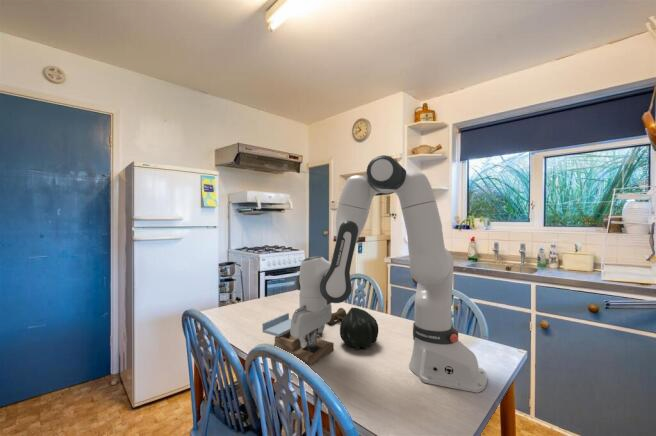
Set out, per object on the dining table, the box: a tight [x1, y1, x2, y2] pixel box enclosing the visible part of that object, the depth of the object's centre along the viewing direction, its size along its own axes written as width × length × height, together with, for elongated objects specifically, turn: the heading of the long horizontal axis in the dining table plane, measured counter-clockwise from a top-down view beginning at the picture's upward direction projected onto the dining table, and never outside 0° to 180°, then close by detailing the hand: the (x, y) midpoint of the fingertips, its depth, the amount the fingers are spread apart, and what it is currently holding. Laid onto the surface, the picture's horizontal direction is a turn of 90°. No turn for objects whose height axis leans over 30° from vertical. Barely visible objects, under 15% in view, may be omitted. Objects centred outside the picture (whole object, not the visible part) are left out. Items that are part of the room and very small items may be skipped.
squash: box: [339, 307, 380, 350], centre depth 114 cm, size 14×15×15 cm
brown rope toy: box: [326, 307, 347, 326], centre depth 140 cm, size 6×10×20 cm
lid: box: [262, 312, 292, 337], centre depth 113 cm, size 8×14×3 cm, turn 148°
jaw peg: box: [307, 329, 318, 353], centre depth 105 cm, size 3×3×9 cm
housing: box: [274, 332, 335, 367], centre depth 107 cm, size 16×14×6 cm
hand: (312, 341), depth 104 cm, fingers open, 8 cm apart
